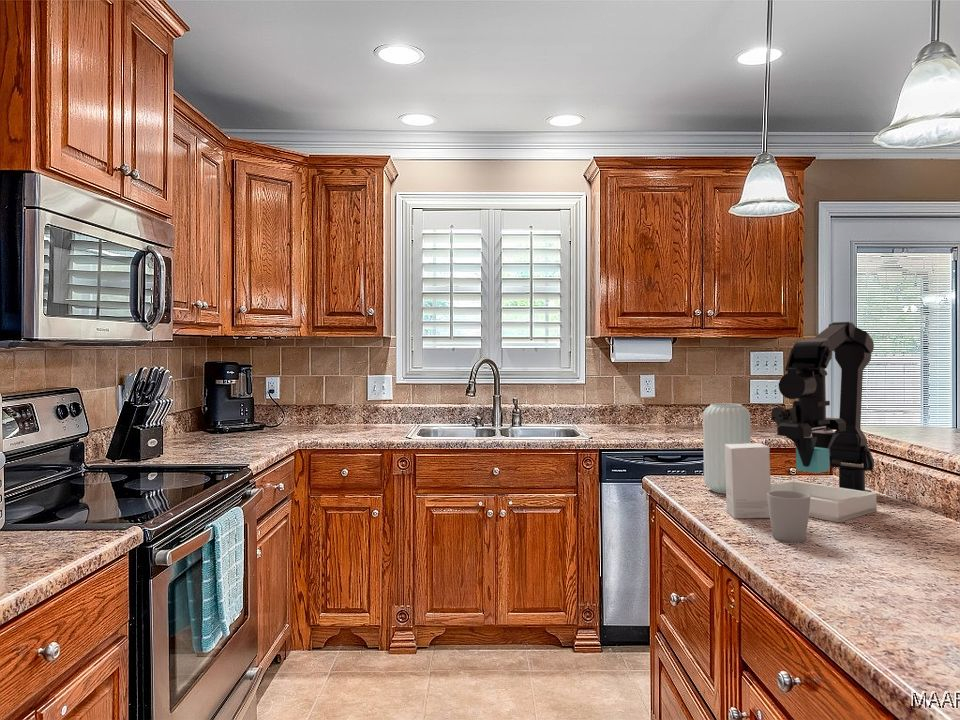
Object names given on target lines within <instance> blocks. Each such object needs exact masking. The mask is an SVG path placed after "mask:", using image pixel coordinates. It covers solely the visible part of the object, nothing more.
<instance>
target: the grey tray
mask: <svg viewBox="0 0 960 720" xmlns="http://www.w3.org/2000/svg"><path fill="white" fill-rule="evenodd" d="M771 491H796V492H802V493H806V494H809V495H810V507H809V517H808V518H813V517H814V518H815V519H818V518H819V519H820V520H825V521H830V522H835V523H840V522H841V523H842V522H844V521H848V520H851V519H854V518H858V517H861V516H864V515H868V514H871V513H875V512H877V509H878V508H877V492H873V491H872V492H866V491H859V490H853V489H846V488H840V487H839V486H831V485H826V484H819V483H811V482H806V481H800V480H799V481H798V480H794V479H793V480H791V479H790V480H787V481H781V482H777V483H772V484H771ZM819 519H818V520H819Z"/></svg>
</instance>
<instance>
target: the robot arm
mask: <svg viewBox="0 0 960 720" xmlns="http://www.w3.org/2000/svg"><path fill="white" fill-rule="evenodd" d="M874 348H875V343H874V340H873V339H872V337H871V336H870V334H869V332H867V331H865V330H863V329H862V328H859V327H857V326H856V325H855V324H854V322H851V321H834V322H832V323H829V325H828V327H826V328H825V329H824V330H822V331H821V332H820V333H818V334H817V335H816V336H815V337H812V338H809V339H808V338H807V339H802V340H799V341H796V342H794V345H793V346H792V348H791V349H790V353H789V356H788V359H787V362H786V365H785V372H787V373H786V374H784V375H783V376H781V378H780V380H779V382H778V390H779V392H780V394H781V395H782V396H783V397H784V398H786V399H789V400H794V401H793V402H792V407H790V408H785V409H784V408H783V407H782V406H776V407H773V408H771V414H770V415H771V417H770V420H771V421H772V422H775V423H776V426H777V427H776V428H777V429H776V435H777V436H780V437H786V439H789V440H790V441H792V442H793V444H794V445H795V447H796V448H797V450H798V452H799V455H800V458H801V460H802V463H803V466H806V467H808V466H809V464H810V462H811V458H812V455H813V451H814V447H819V448H828V449H829V460H830V468H838V487H840V488H846V489H853V490H859V491H866V492H872V493H873V491H872V490H871V489H870V490H869V489H866V472H868V471H874V470H875V469H874V467H875V459H874V457H873V454H872V452H871V450H870V448H869V446H868V439H867V437H866V436H865V433H864V432H863V430H862V429H861V427H862V426H861V425H862V424H861V423H862V403H863V402H862V399H863V379H864V377H863V375H864V373H863V372H864V370H865V368H866V367H867V366H868V364H869V363H870V362H871V359H872V353H873V351H874ZM833 352H834V358H835V359H834V360H835V361H836V362H837V364H838V366H839V367H840V369H841V370H840V371H841V374H840V376H841V377H840V393H839V395H840V399H839V416H838V417H839V418H837V417H827V410H826V409H827V406H830V405H831V402H830V400H826V399H827V397H826V396H827V395H826V392H827V391H826V388H827V387H826V376H828V372H827V370H826V369H827V368H828V366H829V364H830V361H831V360H832V359H833V357H832V356H833ZM796 399H797V400H796Z"/></svg>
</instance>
